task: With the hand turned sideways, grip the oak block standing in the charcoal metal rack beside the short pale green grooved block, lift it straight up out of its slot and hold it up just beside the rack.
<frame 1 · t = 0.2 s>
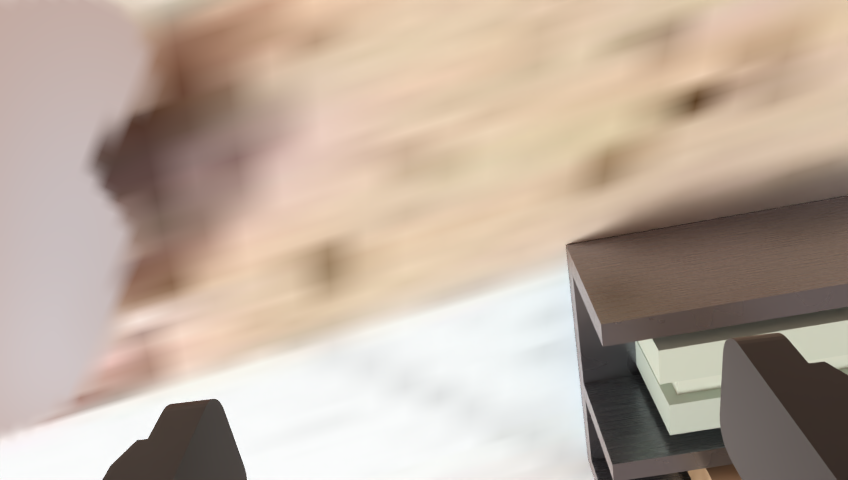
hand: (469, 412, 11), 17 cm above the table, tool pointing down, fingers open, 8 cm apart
pale green grooved block: (736, 306, 30), point 1 cm above the table, touching sheet rack
sheet rack: (725, 338, 32), on the table
oak block: (732, 408, 32), point 1 cm above the table, touching sheet rack
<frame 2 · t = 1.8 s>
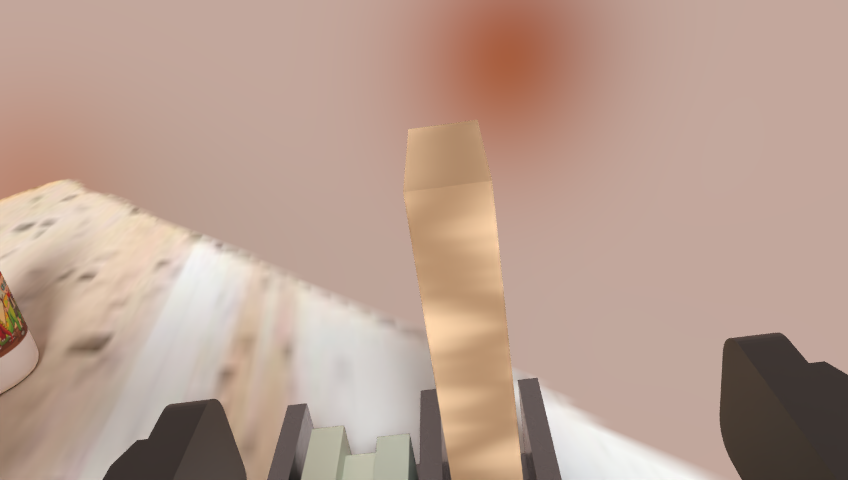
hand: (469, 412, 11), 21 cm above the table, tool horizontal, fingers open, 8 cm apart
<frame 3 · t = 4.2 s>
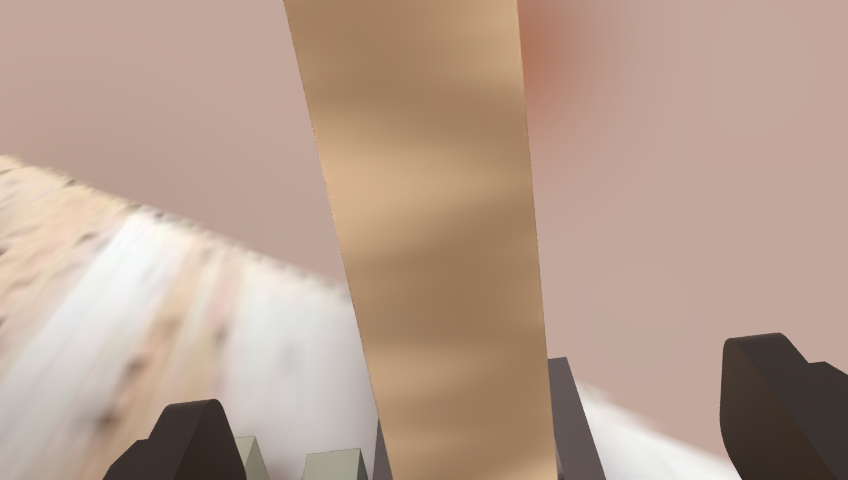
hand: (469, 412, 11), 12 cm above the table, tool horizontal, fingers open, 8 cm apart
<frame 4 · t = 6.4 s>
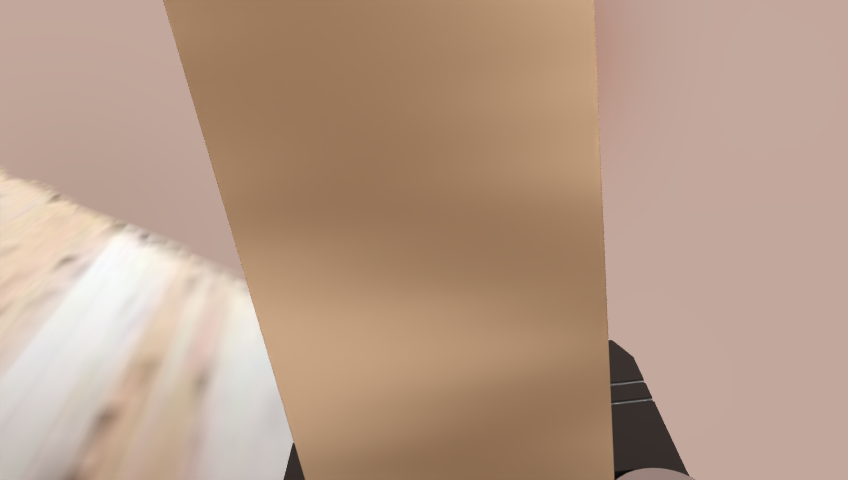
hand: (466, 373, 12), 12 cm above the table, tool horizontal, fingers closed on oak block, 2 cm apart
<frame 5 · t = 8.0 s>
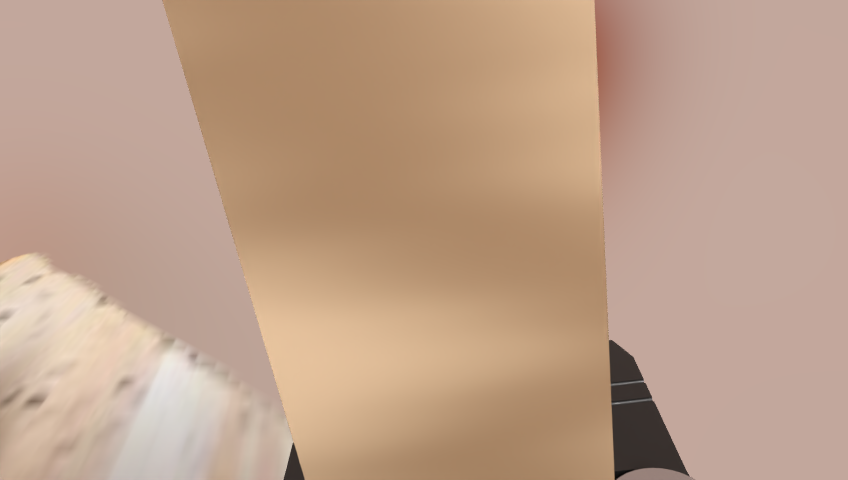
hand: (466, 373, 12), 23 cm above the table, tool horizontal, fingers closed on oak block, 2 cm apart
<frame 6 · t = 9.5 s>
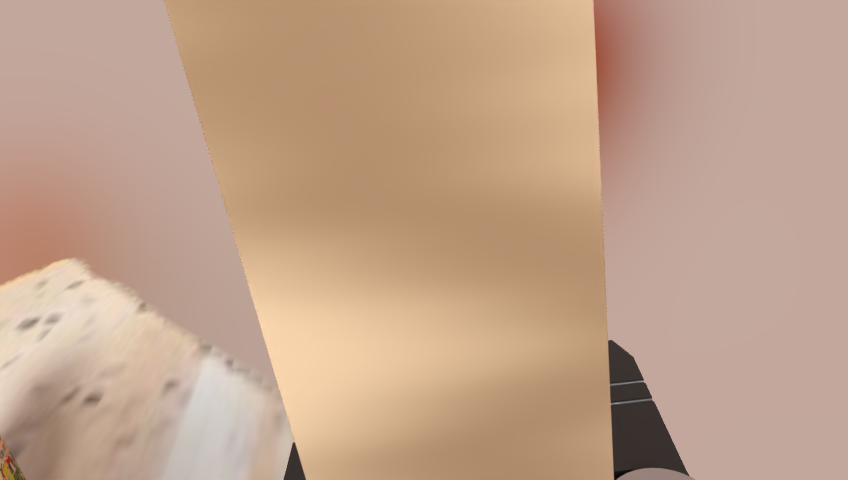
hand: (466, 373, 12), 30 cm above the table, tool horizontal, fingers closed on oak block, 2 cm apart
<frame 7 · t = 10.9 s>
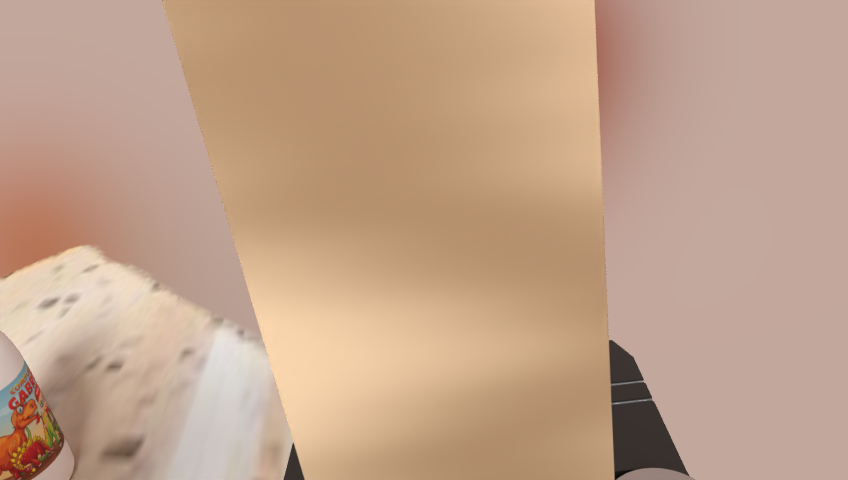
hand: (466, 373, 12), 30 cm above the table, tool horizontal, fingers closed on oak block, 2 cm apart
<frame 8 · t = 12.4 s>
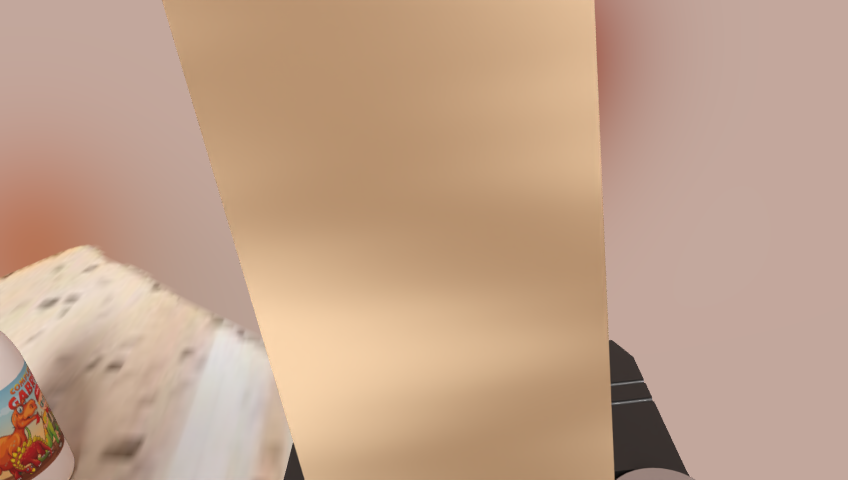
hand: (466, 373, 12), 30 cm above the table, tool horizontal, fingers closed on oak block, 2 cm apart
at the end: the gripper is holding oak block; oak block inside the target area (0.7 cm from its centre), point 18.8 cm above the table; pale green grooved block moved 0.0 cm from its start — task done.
